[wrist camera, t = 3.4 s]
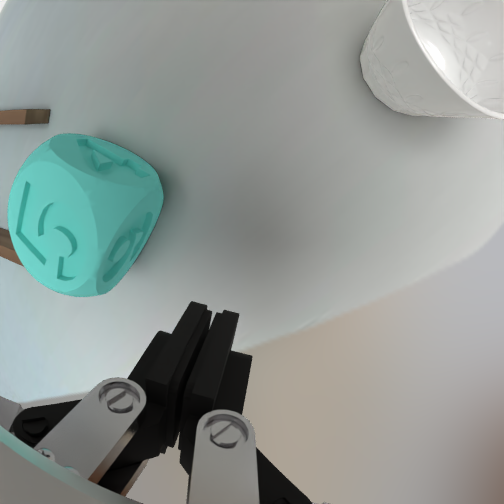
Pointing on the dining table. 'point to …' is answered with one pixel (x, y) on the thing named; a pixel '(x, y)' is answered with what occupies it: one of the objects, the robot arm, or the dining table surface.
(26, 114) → the corral
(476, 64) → the white cup
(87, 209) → the decorative dice
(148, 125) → the dining table surface
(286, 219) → the dining table surface
